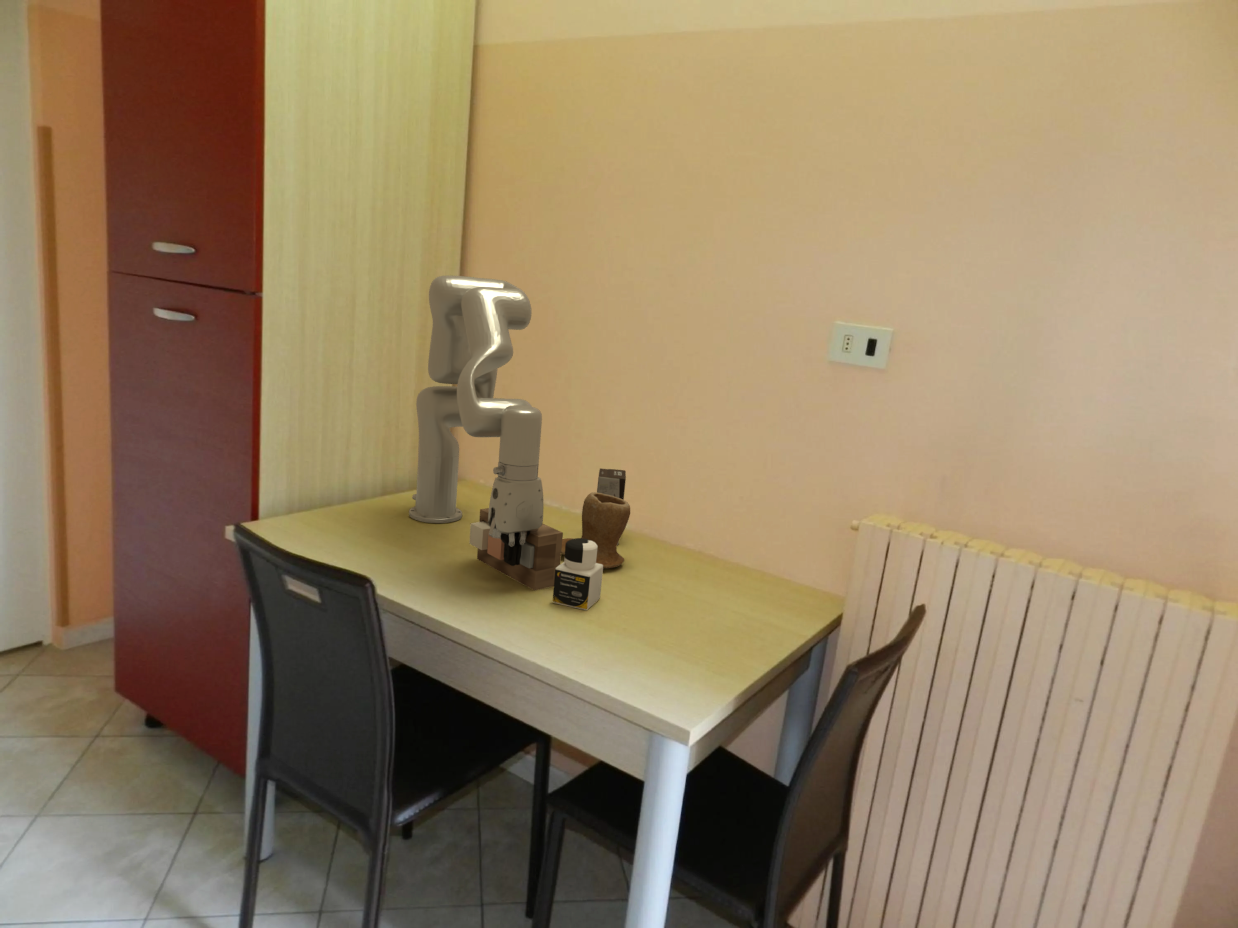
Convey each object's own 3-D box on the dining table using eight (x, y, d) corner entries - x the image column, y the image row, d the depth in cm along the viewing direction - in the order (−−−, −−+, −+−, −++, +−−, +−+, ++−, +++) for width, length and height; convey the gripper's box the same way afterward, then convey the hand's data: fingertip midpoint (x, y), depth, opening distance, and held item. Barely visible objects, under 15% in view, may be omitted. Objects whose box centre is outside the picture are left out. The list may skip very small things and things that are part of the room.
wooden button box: (476, 559, 179) (480, 509, 177) (500, 554, 183) (503, 505, 181) (534, 590, 165) (538, 536, 163) (558, 585, 169) (563, 532, 167)
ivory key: (469, 543, 176) (470, 523, 175) (485, 540, 178) (486, 520, 177) (481, 550, 172) (482, 529, 171) (497, 547, 175) (499, 526, 174)
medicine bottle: (551, 602, 160) (556, 542, 158) (566, 591, 167) (571, 532, 164) (586, 611, 158) (592, 550, 155) (600, 598, 165) (606, 539, 162)
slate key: (515, 561, 168) (516, 540, 167) (531, 558, 171) (533, 537, 170) (529, 568, 165) (530, 546, 164) (545, 565, 168) (547, 543, 167)
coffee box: (619, 545, 197) (626, 478, 194) (591, 543, 197) (597, 476, 194) (619, 534, 206) (626, 469, 203) (593, 531, 206) (599, 467, 203)
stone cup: (636, 564, 186) (643, 498, 183) (600, 576, 177) (607, 507, 173) (584, 545, 195) (590, 482, 192) (548, 555, 186) (554, 489, 183)
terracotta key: (487, 553, 171) (488, 532, 170) (503, 550, 174) (505, 529, 173) (500, 559, 168) (501, 538, 167) (516, 556, 171) (518, 535, 170)
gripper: (495, 479, 153) (489, 575, 157) (561, 472, 163) (554, 563, 167) (473, 469, 158) (468, 563, 162) (538, 464, 168) (532, 552, 172)
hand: (511, 563), depth 165 cm, fingers closed
